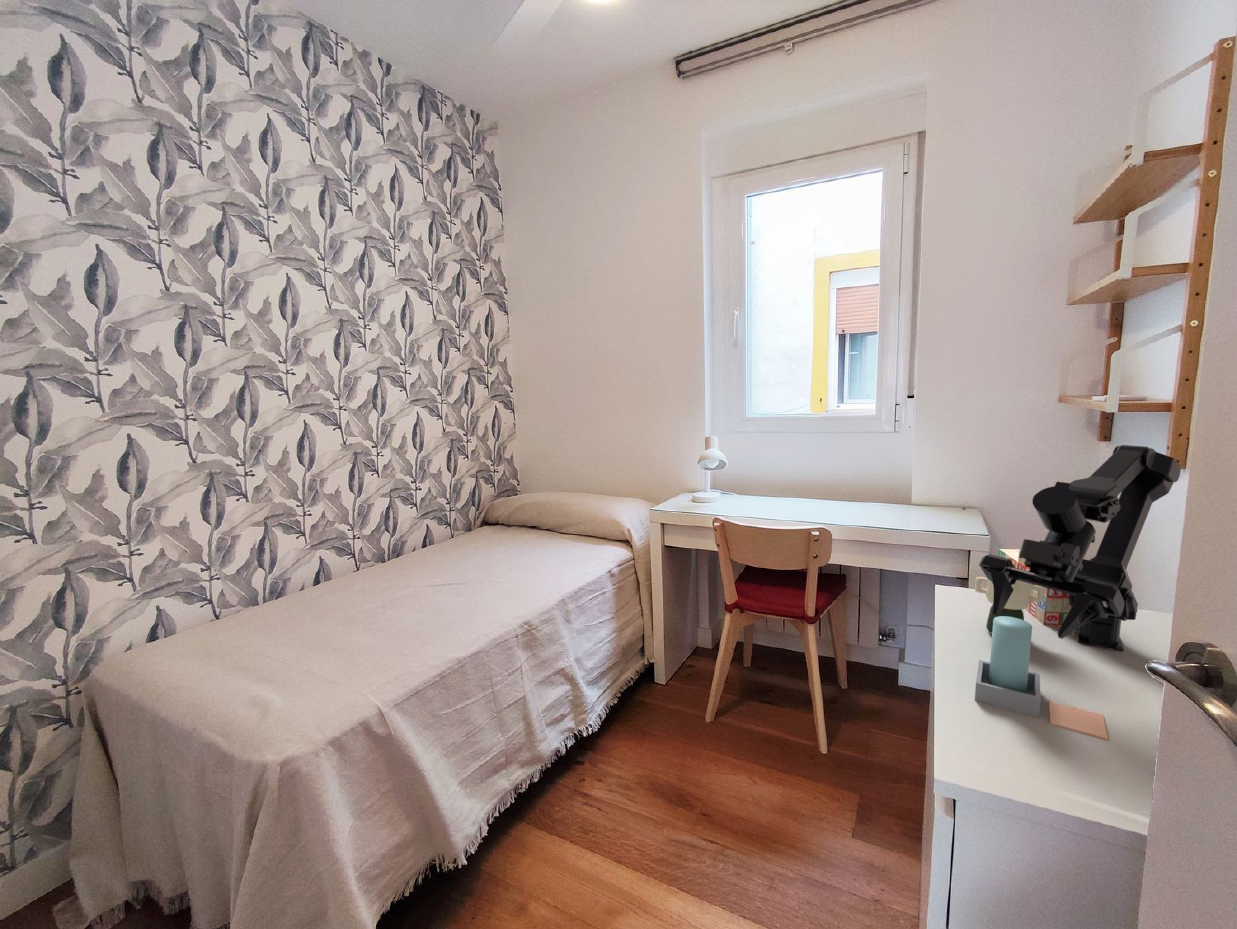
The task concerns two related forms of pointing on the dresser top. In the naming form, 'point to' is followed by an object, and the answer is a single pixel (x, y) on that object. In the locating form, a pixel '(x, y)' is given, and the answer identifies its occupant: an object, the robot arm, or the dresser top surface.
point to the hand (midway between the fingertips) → (1025, 625)
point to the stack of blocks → (1053, 601)
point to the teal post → (1010, 653)
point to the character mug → (1010, 599)
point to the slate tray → (1008, 692)
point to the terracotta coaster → (1077, 720)
